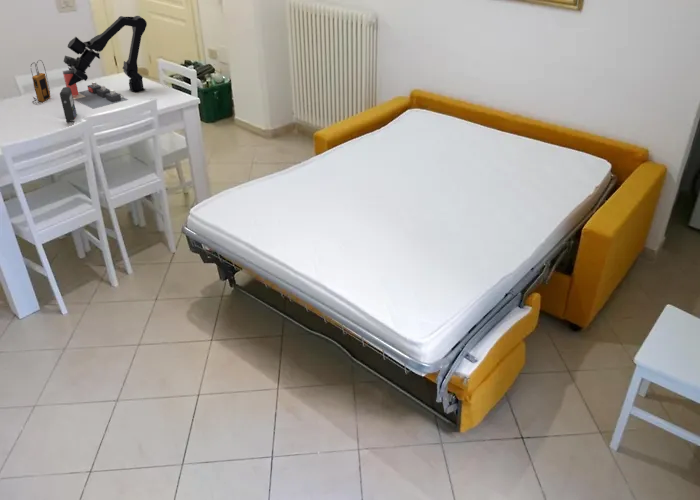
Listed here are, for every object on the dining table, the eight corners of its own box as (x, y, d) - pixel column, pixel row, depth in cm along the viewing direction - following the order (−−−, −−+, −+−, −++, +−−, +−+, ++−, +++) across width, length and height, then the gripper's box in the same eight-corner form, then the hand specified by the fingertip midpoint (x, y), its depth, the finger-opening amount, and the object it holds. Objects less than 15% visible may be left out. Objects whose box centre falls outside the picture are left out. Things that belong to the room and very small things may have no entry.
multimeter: (37, 93, 315) (27, 56, 304) (54, 95, 314) (45, 57, 303) (21, 103, 303) (10, 64, 292) (39, 104, 302) (28, 65, 291)
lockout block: (76, 92, 311) (71, 69, 304) (78, 94, 308) (73, 71, 301) (67, 93, 309) (62, 70, 302) (69, 96, 305) (64, 72, 299)
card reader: (75, 123, 283) (67, 92, 275) (66, 123, 282) (58, 93, 274) (78, 116, 290) (71, 86, 282) (69, 116, 290) (62, 86, 281)
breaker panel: (100, 89, 324) (98, 78, 320) (129, 102, 309) (126, 90, 306) (61, 99, 309) (58, 87, 306) (89, 112, 295) (86, 100, 291)
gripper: (67, 45, 304) (49, 69, 305) (75, 54, 291) (57, 79, 292) (86, 59, 312) (69, 82, 313) (95, 68, 299) (77, 92, 300)
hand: (68, 84), depth 304 cm, fingers closed on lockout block, 4 cm apart
